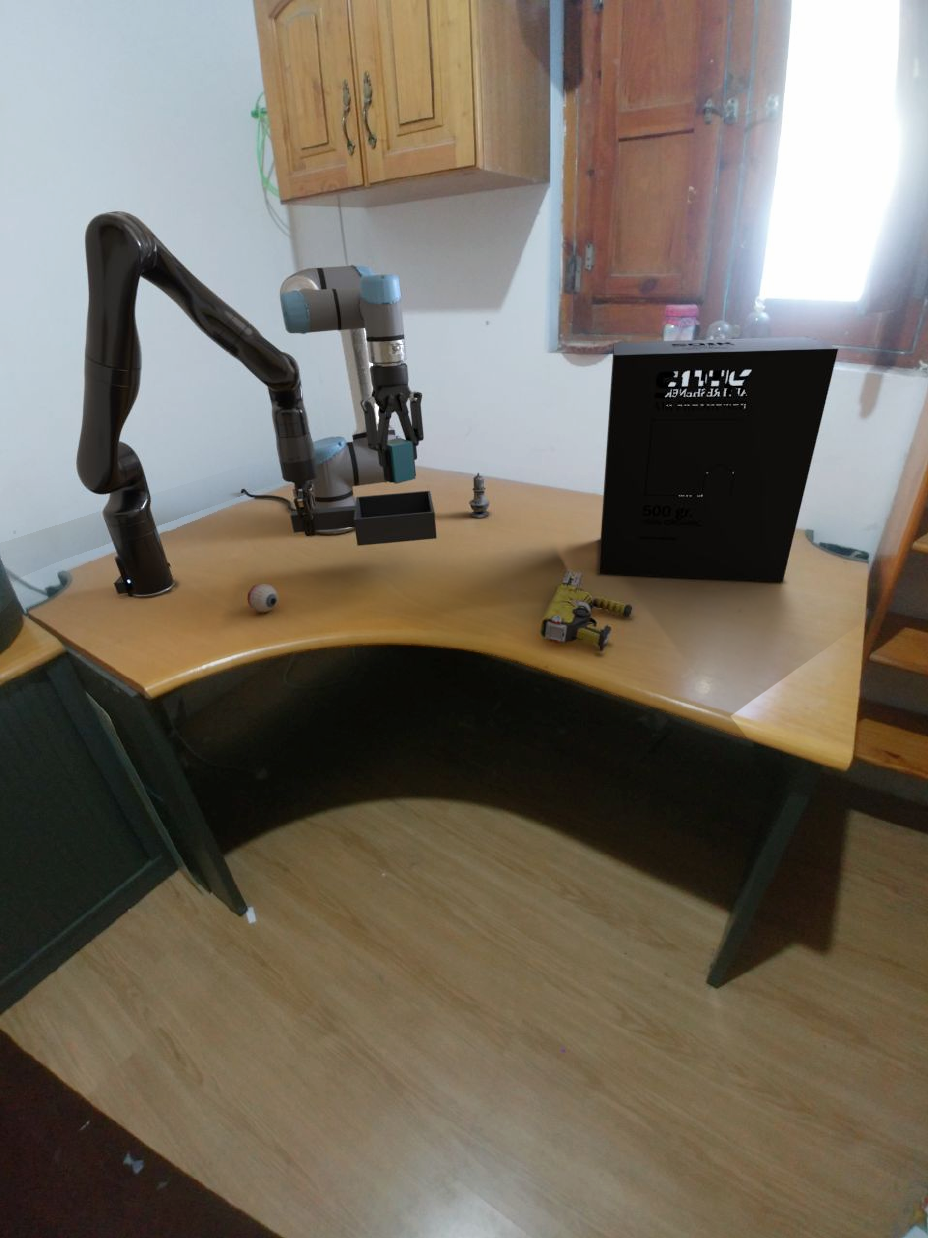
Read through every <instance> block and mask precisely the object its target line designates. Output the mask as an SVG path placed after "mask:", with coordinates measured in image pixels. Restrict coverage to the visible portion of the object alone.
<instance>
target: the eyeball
mask: <svg viewBox="0 0 928 1238" xmlns="http://www.w3.org/2000/svg"><path fill="white" fill-rule="evenodd" d="M246 600H247V603H248V605H249V607H250V608H251V609H252V610H254V611H255V612H258V613H268V612H270V611H272V610H273V609H274V608H275V607H276V606H277V603H278V600H279V596H278V593H277V590H276V589H275V588H274V587H273V586H272V585H270V584H267V583H258V584H255V585H253V586H252V587H251V588H250V589H249V591H248V592H247V599H246Z"/></svg>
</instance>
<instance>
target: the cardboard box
mask: <svg viewBox="0 0 928 1238" xmlns="http://www.w3.org/2000/svg"><path fill="white" fill-rule="evenodd" d="M612 347H613V348H612V363H611V375H610V376H611V377H610V393H609V407H608V423H607V437H606V452H605V469H604V482H603V495H602V497H603V498H602V514H601V525H600V526H601V527H600V545H599V570H598V571H599V575H612V576H632V577H633V576H634V577H635V576H637V577H659V578H679V579H680V578H682V579H701V580H702V579H703V580H729V581H754V582H772V583H773V582H774V583H775V582H776V583H783V582H784V579H785V574H786V570H787V567H788V563H789V557H790V553H791V549H792V545H793V541H794V537H795V536H794V535H795V532H796V527H797V524H798V519H799V515H800V511H801V506H802V503H803V500H804V499H803V498H804V495H805V490H806V486H807V483H808V477H809V474H810V469H811V466H812V465H811V464H812V460H813V456H814V453H815V448H816V444H817V439H818V436H819V431H820V428H821V423H822V419H823V415H824V411H825V406H826V403H827V398H828V394H829V391H830V386H831V382H832V377H833V373H834V370H835V364H836V360H837V357H838V353H839V348H838V347H835V346H832V345H830V344H827V343H825V342H822V341H819V340H816V339H815V338H811V337H809V336H805V335H804V336H780V337H779V336H775V337H774V336H773V337H749V338H748V337H747V338H745V337H744V338H743V337H742V338H721V339H720V338H717V339H716V338H715V339H689V340H688V339H687V340H684V339H683V340H656V341H655V340H653V341H625V342H624V341H623V342H621V341H620V342H613V346H612ZM696 371H697V372H701V373H700V376H699V375H696ZM745 371H750V372H749V373H748V374H747V375H742V374H743V372H745ZM676 372H677V375H676ZM686 372H689V373H688V381H687V385H683V382H684V381H683V380H684V376H683V375H684V374H685V373H686ZM711 372H712V373H711ZM732 373H733V378H732V381H733V382H739V381H742V382H741V385H740V384H739V385H736V384H735V385H732V384H731V383H730V378H731V374H732ZM711 374H712V375H711ZM700 382H702V385H700ZM713 382H718V385H712V384H713ZM671 383H675V385H674V386H673V385H671V386H670V384H671Z"/></svg>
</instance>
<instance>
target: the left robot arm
mask: <svg viewBox="0 0 928 1238" xmlns="http://www.w3.org/2000/svg"><path fill="white" fill-rule="evenodd" d="M84 248H85V249H84V250H85V260H86V274H87V286H88V287H87V288H88V289H87V291H88V301H87V302H88V304H87V314H86V330H85V346H84V362H83V363H84V364H83V365H84V367H83V378H84V383H83V384H84V385H83V401H82V420H81V428H80V429H81V430H80V433H79V434H80V435H79V439H78V447H77V451H76V460H75V461H76V462H75V465H76V472H77V476H78V478H79V480H80V483H82V485H83V486H84V487H85V488H86V489H87V490H88V491H90V492H91V493H93V494H96V495H99V496H100V495H109V496H108V500H107V502H106V504H105V506H104V507H103V509H102V517H103V520H104V522H105V525H106V528H107V531H108V533H109V536H110V538H111V541H112V544H113V546H114V547H113V548H114V549H115V552H116V556H115V557H114V561H115V564H116V566H117V569H118V572H119V576H118V577H117V579H116V580H115V581H114V582H113V586H114V587H115V590H116V593H117V595H127V596H128V597H134V598H138V599H148V598H154V597H158V596H162V595H163V594H166V593H168V592H170V591H171V590H173V588H174V587H175V586H176V581H175V579H174V577H173V574H172V571H171V568H172V566H171V564H170V563H169V561H168V558H167V556H166V553H165V550H164V545H163V543H162V541H161V537H160V534H159V532H158V531H159V530H158V528H157V525H156V522H155V519H154V515H153V512H152V509H151V506H152V505H151V504H152V497H151V492H150V488H149V485H148V482H147V478H146V474H145V470H144V467H143V464H142V462H141V459H140V457H139V455H138V454H137V452H136V451H135V450H134V449H133V447H132V446H130V445H129V444H127V443H126V442H124V441H120V439H121V435H122V431H123V427H124V425H125V423H126V422H127V419H128V417H129V415H130V413H131V411H132V410H133V407H134V405H135V403H136V401H137V399H138V396H139V392H140V388H141V379H142V369H143V368H142V366H143V353H142V344H141V340H140V334H139V329H138V325H137V317H136V307H137V306H136V305H137V297H138V290H139V285H140V279H141V278H142V279H144V280H146V281H147V282H148V283H150V284H152V285H153V286H155V287H156V288H157V289H159V290H160V291H161V292H163V293H164V294H165V295H166V296H167V297H168V298H169V299H171V300H172V301H173V302H174V303H175V304H176V305H177V306H178V307H179V308H180V309H181V310H182V311H183V313H184V314H185V315H186V316H187V318H189V320H191V322H192V323H193V324H194V325H195V326H196V327H197V329H198V330H200V331H201V332H202V333H203V334H204V335H205V336H206V337H207V338H208V339H210V340H211V341H212V342H214V344H216V345H217V346H218V347H219V348H220V349H222V350H223V351H225V353H227V354H229V355H230V356H231V357H232V358H234V359H235V360H237V361H238V362H240V363H241V364H242V365H243V366H244V367H245V368H246V369H247V370H248V371H249V372H250V373H251V374H252V375H254V377H256V378H257V379H258V380H259V381H260V382H261V383H262V384H263V385H265V386H266V388H267V391H268V395H269V401H270V405H271V420H272V425H273V430H274V435H275V445H276V446H275V447H276V451H277V456H278V461H279V466H280V472H281V476H282V479H283V481H285V482H286V483H287V482H288V483H292V484H294V486H293V488H292V495H293V497H294V498H293V503H294V506H295V509H296V510H297V513H298V516H299V520H300V521H302V522H303V527H304V532H303V533H304V536H305V537H314V536H316V533H315V528H314V523H313V515H312V509H315V506H316V504H315V497H314V487H313V482H312V481H310V480H312V479H315V478H316V477H317V476H318V468H317V462H316V456H315V450H314V445H313V442H314V441H313V438H312V434H311V430H310V423H309V418H308V413H307V410H306V407H305V403H304V394H303V386H302V380H301V371H300V366H299V364H298V362H297V360H296V359H295V358H294V357H293V356H292V355H291V354H290V353H288V352H285V351H281V350H280V349H279V348H278V347H276V346H275V345H274V344H273V343H271V342H270V341H269V340H268V339H266V338H265V337H264V336H263V335H262V334H261V332H260V331H259V330H258V328H257V327H255V326H254V325H253V324H252V323H251V322H250V321H248V320H247V319H246V318H245V317H243V316H242V315H241V313H239V312H238V311H237V310H235V309H234V308H233V307H231V306H230V305H229V304H228V303H226V301H224V299H222V298H221V297H219V296H218V295H217V294H216V293H215V292H213V290H211V289H210V288H209V287H208V286H207V285H206V284H204V282H202V281H201V280H200V279H199V278H198V277H196V275H195V274H193V273H192V272H191V271H190V270H189V269H188V268H187V267H186V266H185V265H184V264H183V263H182V262H181V261H180V260H179V259H178V258H177V257H176V256H175V255H174V254H173V253H172V251H170V250H169V249H168V248H167V246H165V244H164V243H163V242H162V241H161V240H160V239H159V237H157V235H155V233H154V232H153V231H152V230H151V229H150V228H149V227H148V226H147V225H146V224H145V223H144V222H143V221H142V220H141V219H140V218H139V217H137V216H135V215H133V214H132V213H130V212H126V211H122V210H114V211H108V212H103V213H99V214H97V215H95V216H94V217H93V218H91V219H90V221H89V222H88V224H87V226H86V229H85V234H84ZM303 513H307V515H303Z"/></svg>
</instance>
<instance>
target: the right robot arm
mask: <svg viewBox="0 0 928 1238" xmlns="http://www.w3.org/2000/svg"><path fill="white" fill-rule="evenodd" d="M400 285H401V284H400V279H399V277H398V275H396V274H394V273H385V274H375V273H374V271H373V270H372V269H371V268H370V267H369V266H367V265H354V264H350V265H343V266H342V265H339V266H325V267H323V266H322V267H308V268H305V269H301V270H299V271H297V272H294V273H292V274H291V275H289V276H288V277H286V279H285V280H284V281H283V282H282V283H281V286H280V289H279V302H280V307H281V314H282V318H283V323H284V328H285V331H286V332H287V333H288V334H300V335H301V334H302V335H305V334H309V333H322V332H330V331H338V332H339V333H340V338H341V343H342V350H343V355H344V356H343V357H344V362H345V367H346V373H347V378H348V385H349V391H350V397H351V403H352V409H353V414H354V420H355V429H354V431H353V433H352V434H351V437H352V441H347V440H346V438H345V437H343V436H329V437H325V438H321V439H317V440H315V441H313V445H314V450H315V456H316V462H317V468H318V476H317V477H316V478H315V479H312V480H310V481H312V482H313V487H314V497H315V504H316V506H315V509H322V508H333V507H345V506H355V505H356V498H355V495H354V489H353V487H358V486H359V487H360V486H367V485H375V484H382V483H384V484H385V483H393V482H394V481H393V472H392V463H391V454H390V451H387V442H388V440H393V439H397V438H402V439H403V437H402V436H401V435H397V434H396V430H395V428H394V427H393V426H392V425H390V421H391V419H392V414H394V413H395V414H396V415H397V417H398V420H399V423H400V427H401V429H402V432H403V434H404V438H405V440H408V441H411V442H412V446H413V457H414V468H415V477H417V472H416V462H415V461H416V460H418V449H417V447H418V446H419V445H420V442H421V441H424V439H425V435H424V425H423V414H422V399H423V393H422V392H419V391H417V390H411V388H410V386H409V370H408V369H409V368H408V365H407V363H406V362H405V361H406V360H407V350H406V341H405V340H406V338H405V329H404V328H405V327H404V316H403V305H402V304H403V303H402V298H403V297H402V296H403V295H402V294H403V293H402V291H401V286H400ZM408 401H409V408H408V405H407V403H408ZM409 409H410V410H409ZM409 411H410V412H409ZM409 413H410V415H409ZM240 494H245V495H246V496H247V497H249V498H252V499H274V500H279V501H283V502H285V503H287V507H288V509H289V510H290V511H291V512H292V511H297V510H296V508H294V507H292V502H291V501H290V500H289V499H288V498H285V497H283V496H278V495H273V494H271V495H270V494H251V493H249V492H248V491H247V490H246V488H241V490H240ZM353 531H355V527H351V528H340V529H329V530H318V531H315V534H317V535H323V536H324V535H325V536H327V535H329V536H331V535H339V534H340V535H341V534H345V533H350V532H353Z"/></svg>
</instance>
